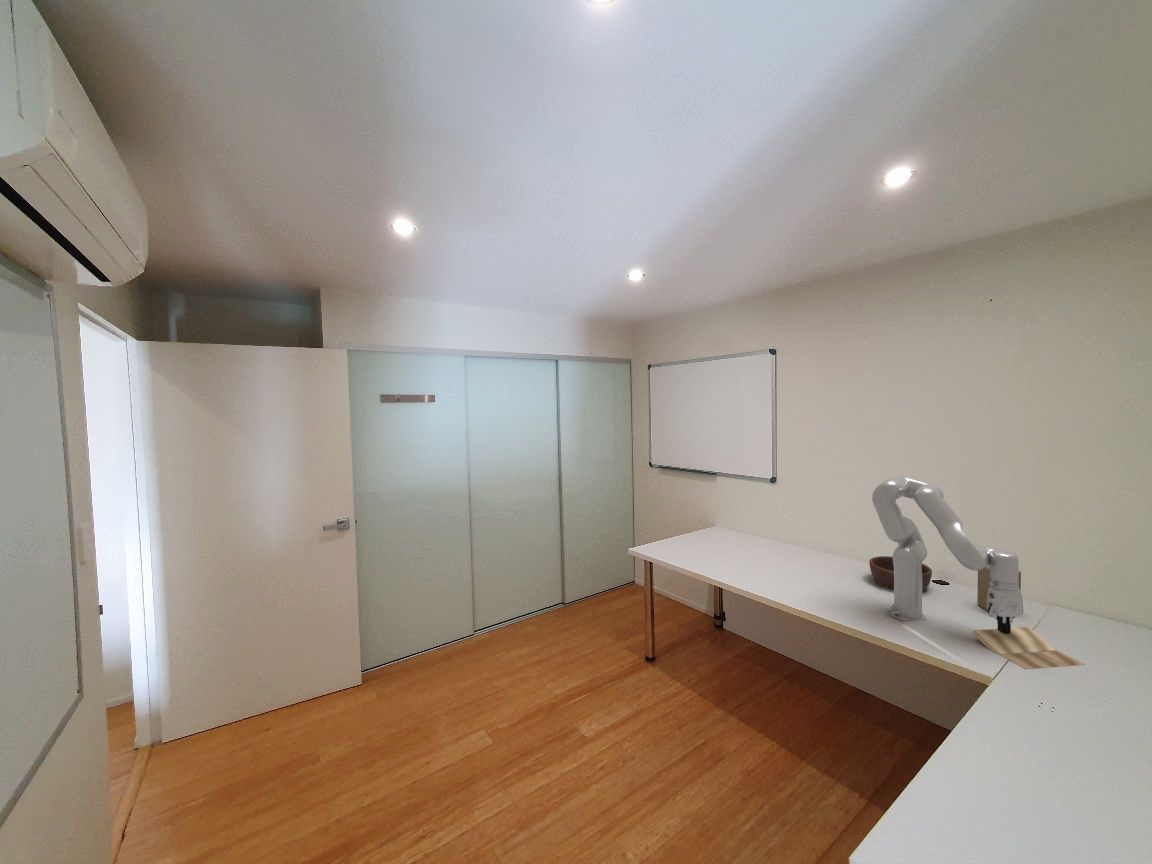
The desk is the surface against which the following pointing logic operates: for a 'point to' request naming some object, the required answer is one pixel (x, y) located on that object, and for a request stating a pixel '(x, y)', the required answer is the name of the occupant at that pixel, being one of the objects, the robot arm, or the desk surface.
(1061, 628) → the desk surface
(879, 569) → the wooden bowl
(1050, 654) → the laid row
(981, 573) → the wooden block
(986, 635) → the board
